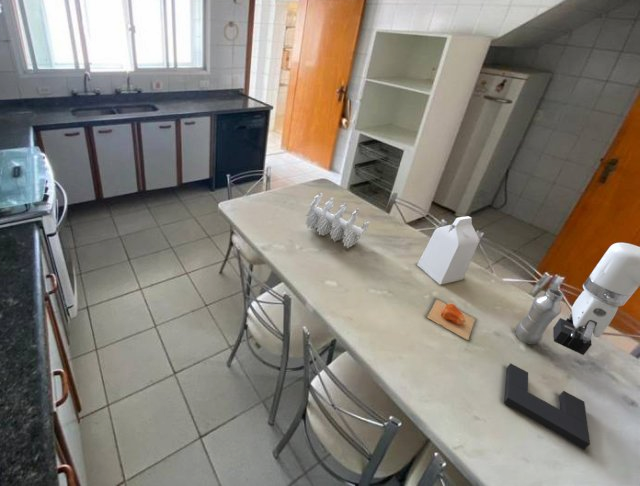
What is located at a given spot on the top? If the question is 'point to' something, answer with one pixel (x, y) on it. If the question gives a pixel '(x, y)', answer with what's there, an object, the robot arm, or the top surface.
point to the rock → (451, 318)
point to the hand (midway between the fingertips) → (568, 339)
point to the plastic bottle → (540, 316)
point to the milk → (450, 251)
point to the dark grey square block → (562, 332)
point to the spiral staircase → (334, 222)
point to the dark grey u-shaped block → (547, 408)
